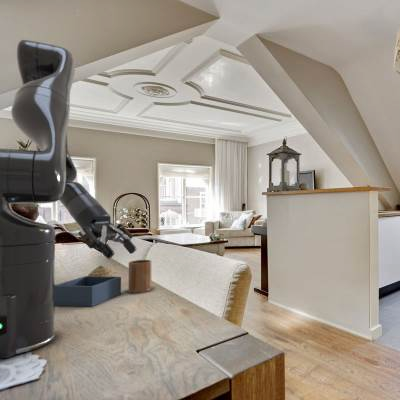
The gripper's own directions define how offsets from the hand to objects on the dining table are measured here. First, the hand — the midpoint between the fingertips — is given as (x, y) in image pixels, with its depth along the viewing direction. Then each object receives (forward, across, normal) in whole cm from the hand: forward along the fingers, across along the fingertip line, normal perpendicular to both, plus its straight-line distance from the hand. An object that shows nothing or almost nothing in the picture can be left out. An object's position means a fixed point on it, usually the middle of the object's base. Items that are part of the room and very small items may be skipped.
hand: (123, 253), depth 88 cm
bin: (+6, -10, +8) cm, 14 cm away
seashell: (-4, +9, +18) cm, 21 cm away
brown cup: (+11, 0, +3) cm, 11 cm away
